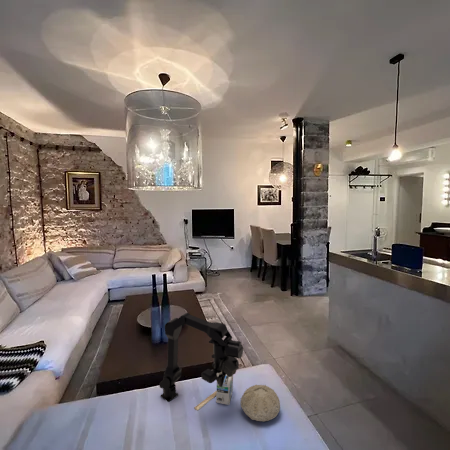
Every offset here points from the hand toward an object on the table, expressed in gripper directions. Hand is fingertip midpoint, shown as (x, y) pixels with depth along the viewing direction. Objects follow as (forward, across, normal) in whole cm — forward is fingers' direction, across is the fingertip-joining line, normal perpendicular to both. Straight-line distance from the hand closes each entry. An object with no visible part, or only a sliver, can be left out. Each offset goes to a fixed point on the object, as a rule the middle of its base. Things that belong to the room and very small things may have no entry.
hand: (220, 386), depth 123 cm
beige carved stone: (+14, +13, -12) cm, 22 cm away
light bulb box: (+13, +9, +7) cm, 17 cm away
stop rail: (+13, +7, +11) cm, 19 cm away
